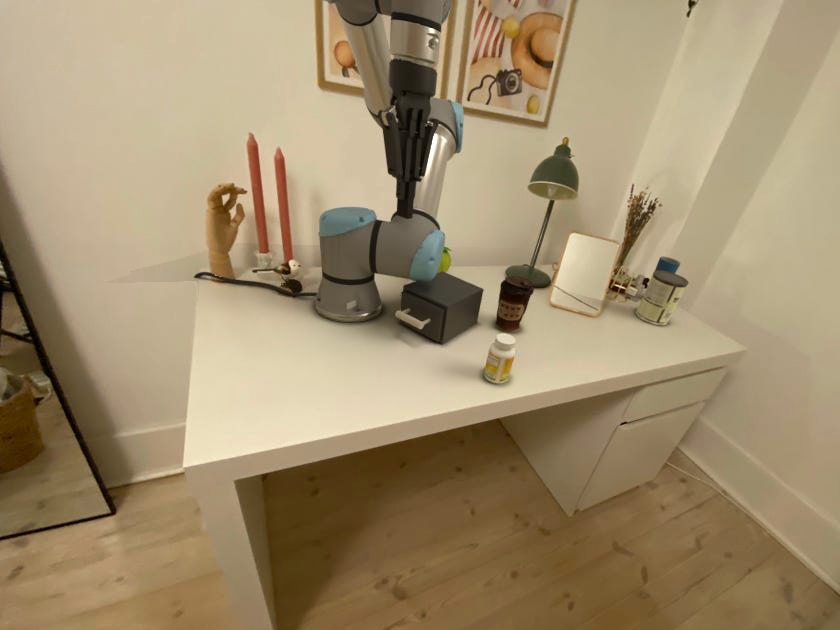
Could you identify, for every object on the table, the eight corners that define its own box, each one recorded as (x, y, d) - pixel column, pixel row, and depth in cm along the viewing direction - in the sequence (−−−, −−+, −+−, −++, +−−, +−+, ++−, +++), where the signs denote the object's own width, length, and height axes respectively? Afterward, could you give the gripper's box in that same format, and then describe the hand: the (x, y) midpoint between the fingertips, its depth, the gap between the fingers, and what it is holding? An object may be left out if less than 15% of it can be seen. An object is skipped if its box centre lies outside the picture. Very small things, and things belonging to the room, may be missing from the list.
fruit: (427, 267, 122) (430, 237, 117) (452, 276, 120) (457, 245, 115) (412, 275, 115) (415, 243, 110) (439, 284, 113) (443, 252, 107)
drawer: (425, 348, 82) (429, 317, 78) (386, 327, 86) (388, 296, 82) (470, 322, 95) (475, 294, 91) (434, 305, 99) (438, 277, 95)
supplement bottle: (483, 382, 77) (492, 343, 72) (483, 367, 82) (492, 329, 76) (508, 386, 78) (519, 347, 72) (507, 370, 82) (517, 333, 77)
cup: (662, 301, 136) (681, 261, 127) (658, 306, 131) (679, 265, 122) (643, 294, 138) (661, 255, 130) (639, 299, 133) (658, 258, 125)
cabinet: (442, 344, 86) (447, 306, 81) (400, 322, 91) (403, 285, 85) (476, 323, 97) (483, 288, 92) (438, 305, 102) (442, 271, 97)
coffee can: (640, 307, 127) (658, 267, 119) (670, 319, 123) (691, 279, 115) (631, 315, 120) (650, 274, 112) (663, 329, 116) (685, 287, 108)
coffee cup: (520, 338, 95) (534, 291, 88) (489, 330, 96) (499, 283, 88) (524, 323, 102) (536, 278, 95) (494, 315, 103) (504, 270, 96)
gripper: (403, 57, 53) (395, 227, 66) (457, 73, 62) (440, 218, 76) (365, 50, 55) (364, 214, 69) (422, 67, 65) (412, 207, 78)
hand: (404, 216), depth 72 cm, fingers closed
